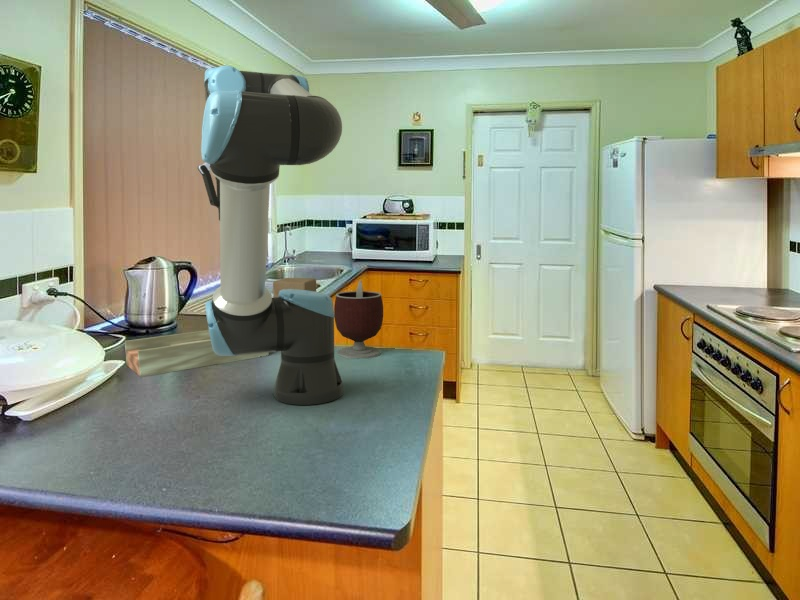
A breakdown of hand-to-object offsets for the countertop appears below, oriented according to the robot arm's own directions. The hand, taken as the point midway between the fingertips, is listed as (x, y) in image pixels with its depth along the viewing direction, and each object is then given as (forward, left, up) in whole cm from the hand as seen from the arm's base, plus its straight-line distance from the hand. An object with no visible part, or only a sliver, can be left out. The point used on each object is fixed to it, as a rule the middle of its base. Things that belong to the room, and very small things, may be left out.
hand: (228, 234), depth 142 cm
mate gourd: (-6, -35, -35) cm, 50 cm away
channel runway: (+14, +4, -34) cm, 37 cm away
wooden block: (+13, -25, -35) cm, 45 cm away
